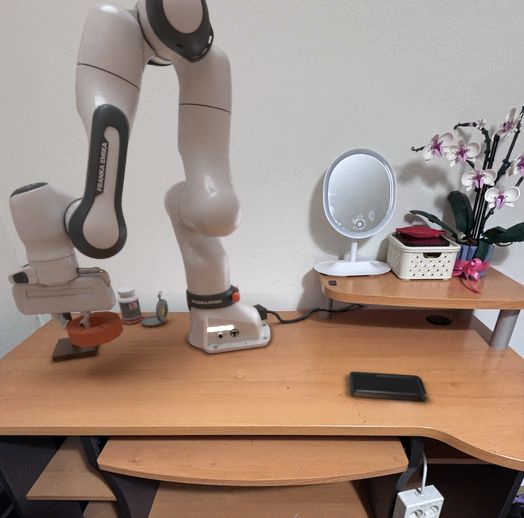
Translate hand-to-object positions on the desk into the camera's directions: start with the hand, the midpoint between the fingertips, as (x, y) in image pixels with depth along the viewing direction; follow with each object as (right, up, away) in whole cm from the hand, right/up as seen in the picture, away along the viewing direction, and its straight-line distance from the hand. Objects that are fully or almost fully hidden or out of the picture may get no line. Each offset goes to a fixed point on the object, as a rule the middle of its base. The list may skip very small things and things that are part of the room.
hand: (76, 328), depth 85 cm
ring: (+4, -1, +1) cm, 5 cm away
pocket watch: (+11, +3, +27) cm, 29 cm away
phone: (+68, -13, -5) cm, 70 cm away
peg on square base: (-7, -5, +15) cm, 17 cm away
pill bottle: (+2, +4, +30) cm, 30 cm away
